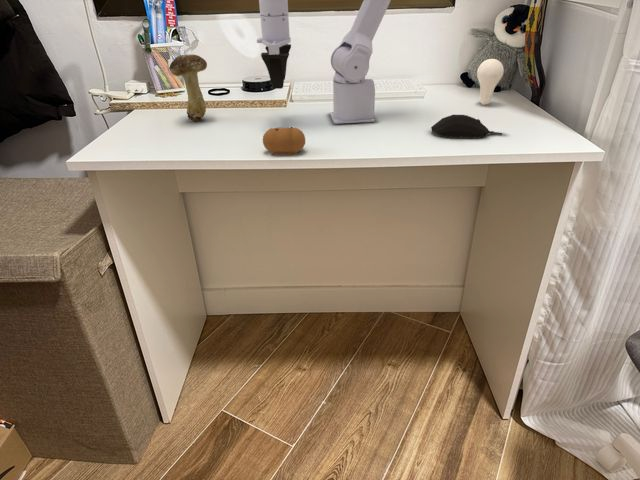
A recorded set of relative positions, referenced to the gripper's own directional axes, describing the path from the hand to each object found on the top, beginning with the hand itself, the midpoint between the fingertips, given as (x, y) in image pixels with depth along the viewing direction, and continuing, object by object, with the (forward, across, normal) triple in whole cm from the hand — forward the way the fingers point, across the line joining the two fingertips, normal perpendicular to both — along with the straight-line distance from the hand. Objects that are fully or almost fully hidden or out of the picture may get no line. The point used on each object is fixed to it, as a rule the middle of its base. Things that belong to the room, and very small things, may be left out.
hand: (279, 83), depth 96 cm
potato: (+9, +17, +2) cm, 19 cm away
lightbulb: (+10, -12, +51) cm, 53 cm away
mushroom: (+10, -5, -21) cm, 23 cm away
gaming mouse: (+10, +9, +40) cm, 42 cm away
